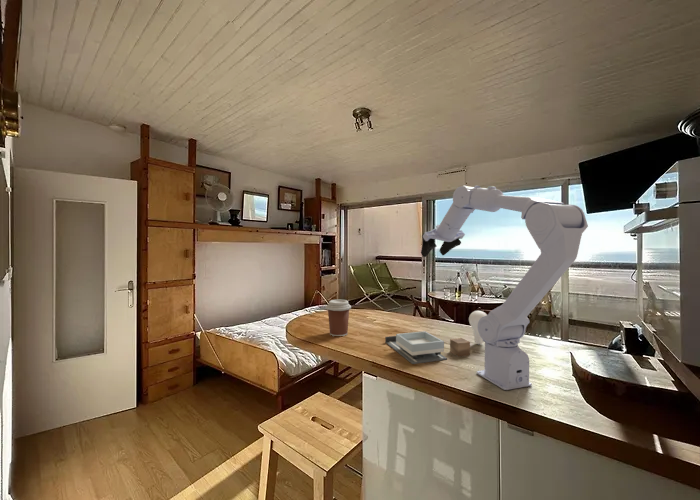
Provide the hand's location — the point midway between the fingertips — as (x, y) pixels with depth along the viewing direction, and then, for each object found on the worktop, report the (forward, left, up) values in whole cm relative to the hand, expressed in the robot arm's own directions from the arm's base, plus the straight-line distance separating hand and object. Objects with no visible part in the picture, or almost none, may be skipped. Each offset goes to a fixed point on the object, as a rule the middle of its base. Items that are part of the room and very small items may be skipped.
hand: (432, 254), depth 98 cm
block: (-10, -3, -30) cm, 31 cm away
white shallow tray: (-7, +9, -30) cm, 32 cm away
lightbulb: (-5, -14, -30) cm, 33 cm away
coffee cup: (+19, +27, -30) cm, 44 cm away
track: (-4, +9, -30) cm, 31 cm away
